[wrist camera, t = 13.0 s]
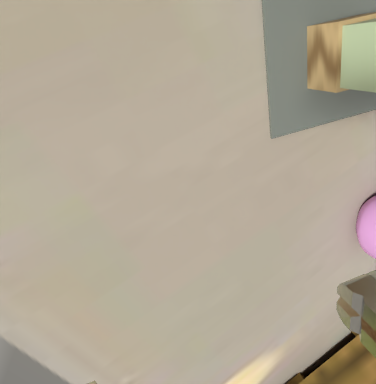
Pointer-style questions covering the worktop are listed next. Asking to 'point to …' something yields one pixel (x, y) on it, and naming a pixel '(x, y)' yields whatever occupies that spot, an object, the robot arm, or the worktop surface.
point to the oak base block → (327, 53)
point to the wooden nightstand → (344, 367)
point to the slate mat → (305, 65)
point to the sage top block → (359, 56)
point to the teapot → (367, 227)
